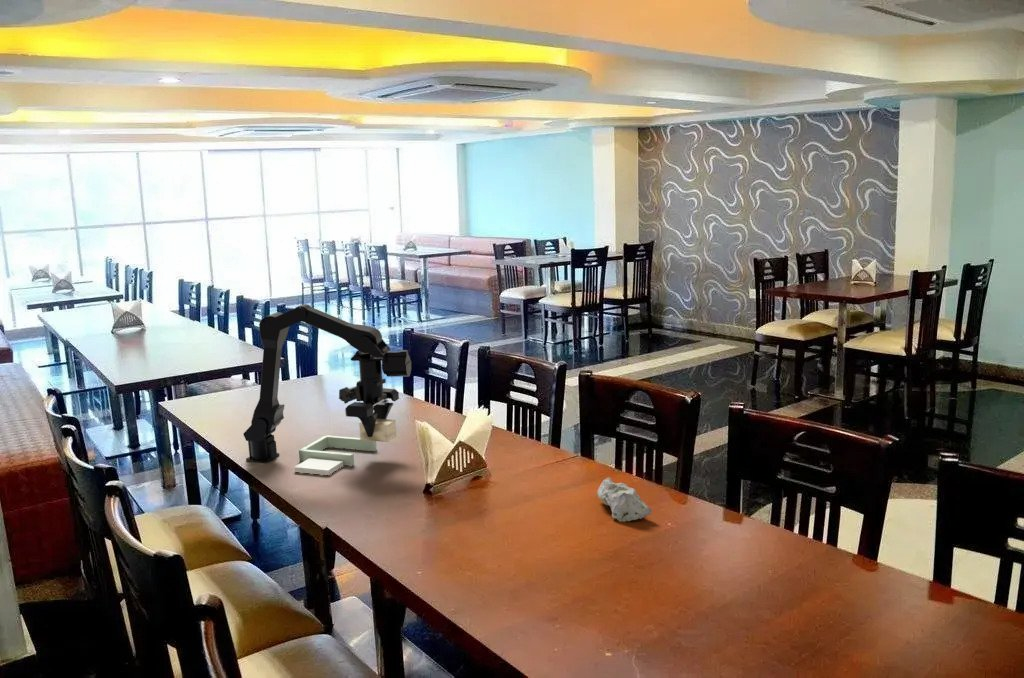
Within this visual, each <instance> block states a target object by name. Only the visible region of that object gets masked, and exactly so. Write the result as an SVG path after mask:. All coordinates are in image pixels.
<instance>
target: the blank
mask: <svg viewBox="0 0 1024 678" xmlns="http://www.w3.org/2000/svg"><path fill="white" fill-rule="evenodd" d="M358 424H359V425H358V426H359V438H360V440H368V441H376V442H381V443H389V442H390V441H392V440H394V439H395V438H396V437H397V424H396V419H388V418H387V419H376V423H375V427H374V432H373V435H372V437H368V436H367V433H366V431H365V429H364V426H363V424H362V422H361V421H360V423H358Z"/></svg>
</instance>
